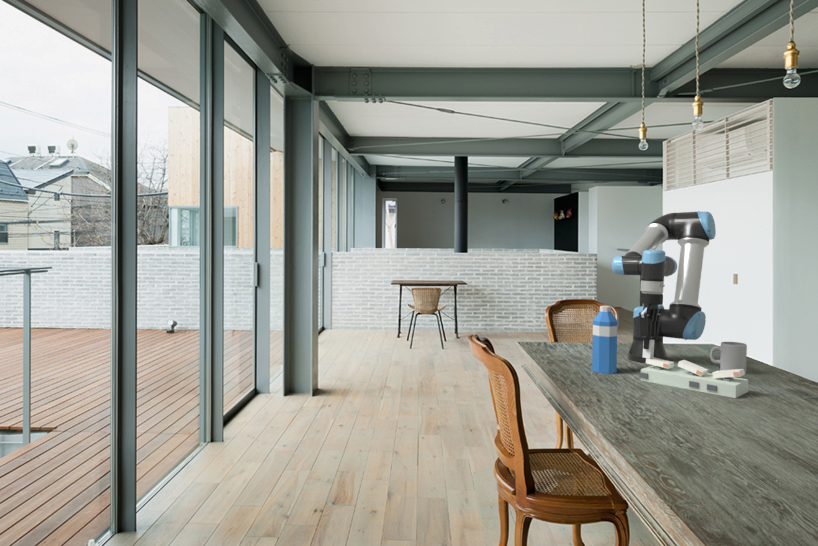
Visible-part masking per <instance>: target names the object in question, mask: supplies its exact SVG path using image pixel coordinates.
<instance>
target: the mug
mask: <svg viewBox="0 0 818 546" xmlns="http://www.w3.org/2000/svg"><path fill="white" fill-rule="evenodd" d="M747 346H748V345H747V343H745V342H744V343H742V342H739V341H738V342H737V341H722V342H721V343H720V345H716V346H713V347H711V349H710V351H709V358H710V361H711V362H712V363H713V364H716V365H719V371H720V370H735V369H744V372H745V375H746V374H747V354H748V353H747V351H748V348H747ZM715 351H719V352H720V358H719V359H715V358H714V352H715Z"/></svg>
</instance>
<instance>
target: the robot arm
mask: <svg viewBox="0 0 818 546" xmlns="http://www.w3.org/2000/svg"><path fill="white" fill-rule="evenodd" d="M715 223H716V221H715V220H714V216H713V214H712V213H711V212H709V211H699V210H698V211H686V212H685V211H684V212H670V213H666V214H663V215H661V216H660V217H657V218H656V219H654V220H652V221H651V222H650V223H649V224H648V225H647V226H646V227H645V229H644V233H643V234H642V235H641V237H639V239H638V240H637V241H636V242H635V243H634V245H632V247H631V248H630V249H629V250H628V251H627V253H625V254H624V255H617V256H615V257H613V259H612V263H611V268H612V273H614V274H615V275H618V276H640V289H639V290H640V295H639V303H640V304H643V306H642V305H641V306H637V307H636V306H635V308H634V309H633V314H632V315H633V316H632V319H633V320H632V342H631V345H630V347H629V351H628V353H627V354H628V357H627V358H628V359H629V360H631V361H634V362H638V363H646V358H649V359H651V358H653V357H655V358H659V359H663V360H668V354H667V352H666V349H665V345H664V338H669V339H672V338H673V339H679V340H680V339H681V340H684V341H687V340H688V341H689V340H690V341H691V340H692V341H696V340H699V338H701V336H702V335H703V333H704V330H705V327H706V323H707V321H706V320H707V319H706V312H704V311H702V307H701V306H700V304H699V297H700V296H699V295H700V288H701V278H702V271H703V270H702V269H703V261H704V253H705V248H707V247H708V246H709V245H710V240H715V237H716V235H717V234H716V224H715ZM671 240H672V241H673V240H675V241H677V243H678V245H679V246H680V253H679V260H678V263H677V261H676V260H675V259H674V258H673V257H671V256H668V255H666V252H665V250H656V249H657V248H658V247H659V246H660V244H663V243H665V242H667V241H671ZM676 272H677V275H676V276H677V277H676V283H675V293H674V300H673V301H672V302H670V303H669V307H668V308H665V307H664V304H663V303H664V302H663V301H664V295H663V294H662V293H664V287H665V284H664V282H665V278H666V277H667V278H668V277H670V276H672V275H674V274H675V273H676Z"/></svg>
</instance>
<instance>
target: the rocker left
mask: <svg viewBox="0 0 818 546" xmlns="http://www.w3.org/2000/svg"><path fill="white" fill-rule="evenodd" d="M645 364H647V365H650V366H653V365H655V366H659V367H663V368H667V369H669V368H672V367H674V368H675V361H671V360H668V359H667V360H663V359H659V358H655V357H653V358H651V359H649V358H646V362H645Z"/></svg>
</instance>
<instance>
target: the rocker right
mask: <svg viewBox="0 0 818 546" xmlns="http://www.w3.org/2000/svg"><path fill="white" fill-rule="evenodd" d="M711 374H713V378H724V377H735V378H742V377H743V376H745V375H746V374H745V372H744V369H735V370H720V369H719V370H716V371H712V373H711Z"/></svg>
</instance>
